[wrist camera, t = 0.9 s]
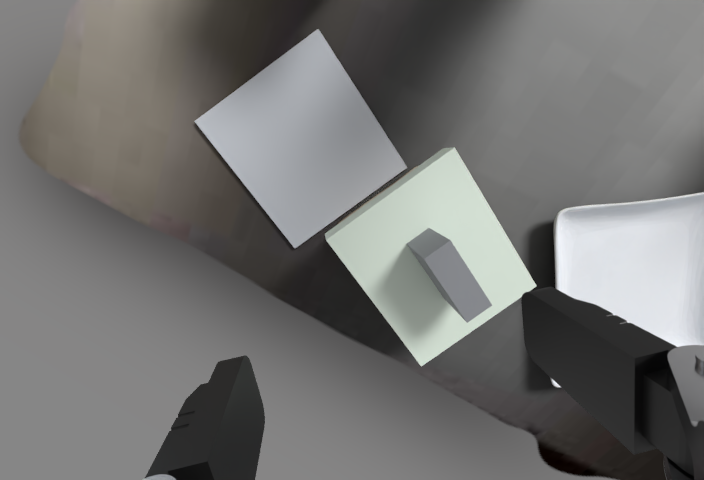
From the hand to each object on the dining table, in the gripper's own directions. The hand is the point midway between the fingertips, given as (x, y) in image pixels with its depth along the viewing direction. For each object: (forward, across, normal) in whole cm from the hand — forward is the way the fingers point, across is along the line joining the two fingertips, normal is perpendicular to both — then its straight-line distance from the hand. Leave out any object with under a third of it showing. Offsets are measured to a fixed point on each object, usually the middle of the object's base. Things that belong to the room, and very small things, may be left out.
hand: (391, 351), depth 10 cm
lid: (+20, -7, +5) cm, 22 cm away
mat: (+27, +2, -7) cm, 28 cm away
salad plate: (+28, -32, +15) cm, 45 cm away
